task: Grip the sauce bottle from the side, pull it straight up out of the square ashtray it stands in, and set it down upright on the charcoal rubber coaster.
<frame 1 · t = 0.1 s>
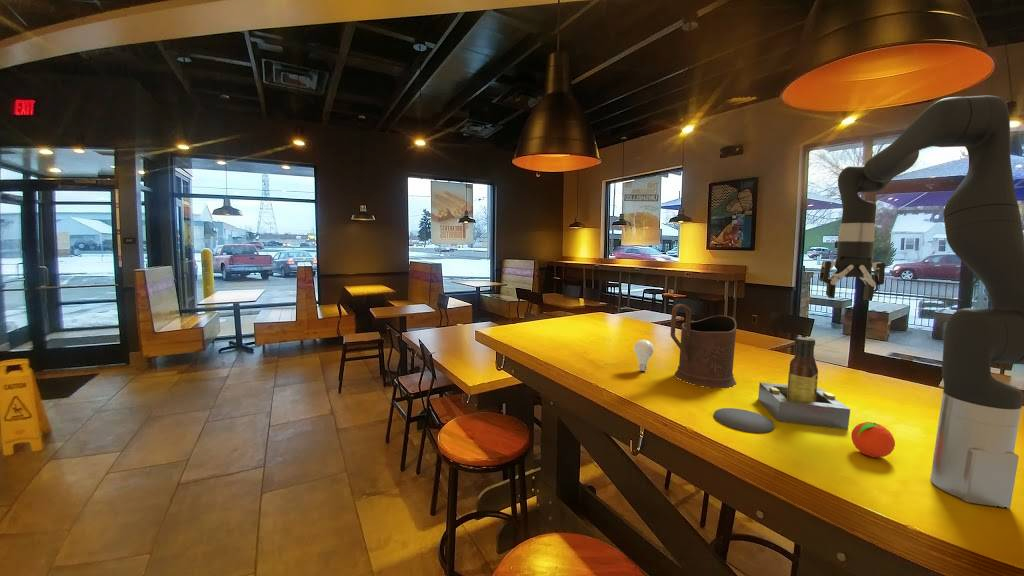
hand: (848, 298, 115), 29 cm above the table, tool pointing down, fingers open, 8 cm apart
square ashtray: (799, 412, 108), on the table
lightbulb: (642, 371, 141), on the table
red tomato: (868, 456, 87), on the table
coaster: (743, 420, 102), on the table
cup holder: (697, 380, 134), on the table
sauce bottle: (799, 413, 108), resting in square ashtray
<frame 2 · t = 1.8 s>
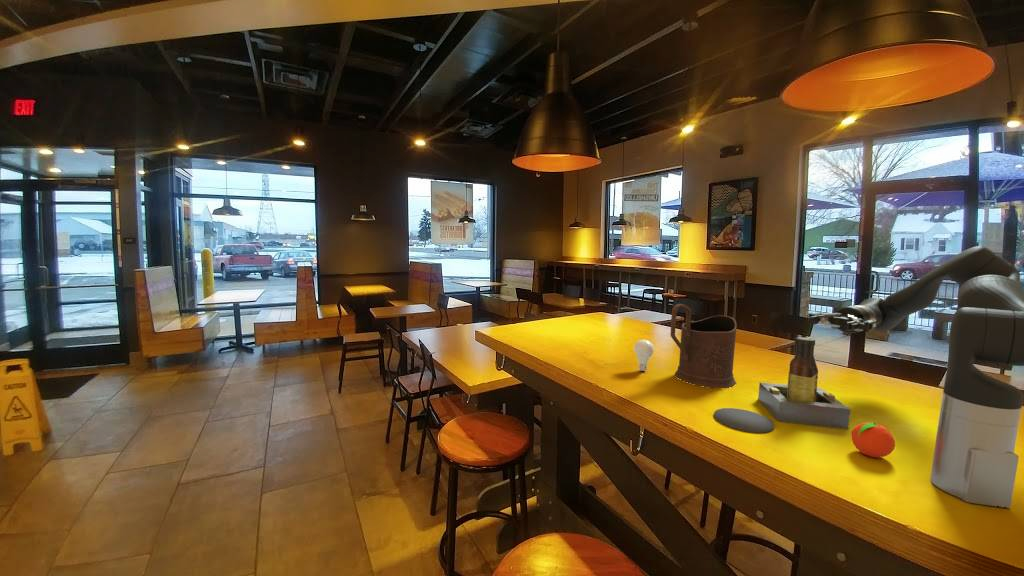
hand: (828, 323, 111), 23 cm above the table, tool horizontal, fingers open, 8 cm apart
nothing on the table moved.
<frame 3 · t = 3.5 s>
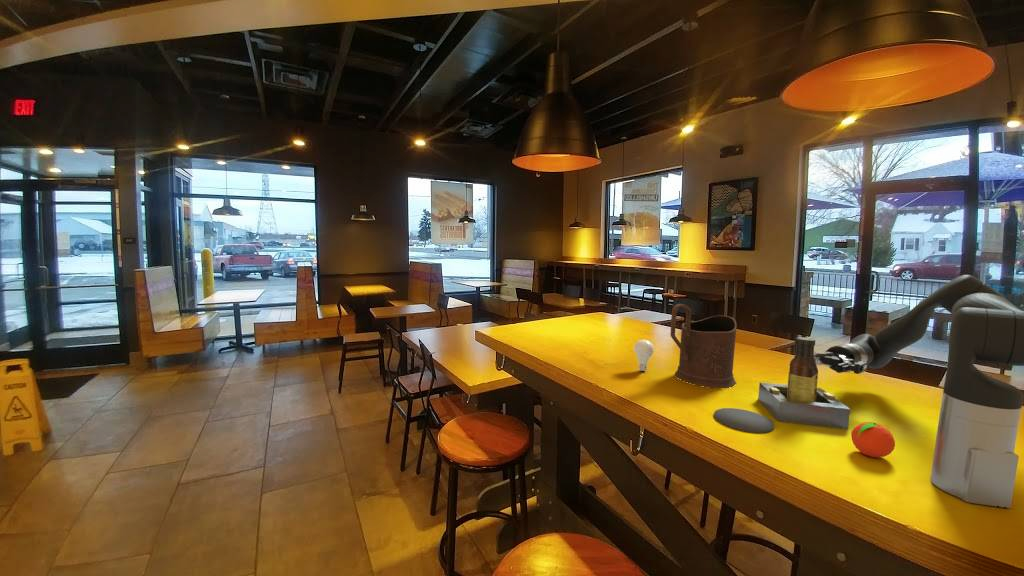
hand: (819, 364, 111), 12 cm above the table, tool horizontal, fingers open, 8 cm apart
nothing on the table moved.
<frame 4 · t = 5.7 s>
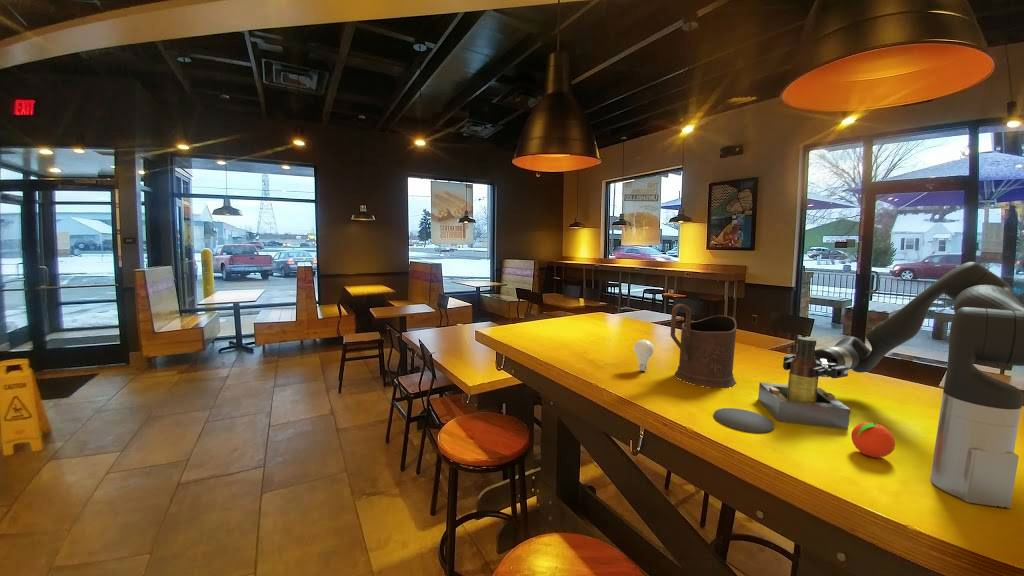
hand: (799, 369, 106), 12 cm above the table, tool horizontal, fingers closed on sauce bottle, 6 cm apart
sauce bottle: (799, 413, 108), resting in square ashtray, touching gripper
everything else where it was.
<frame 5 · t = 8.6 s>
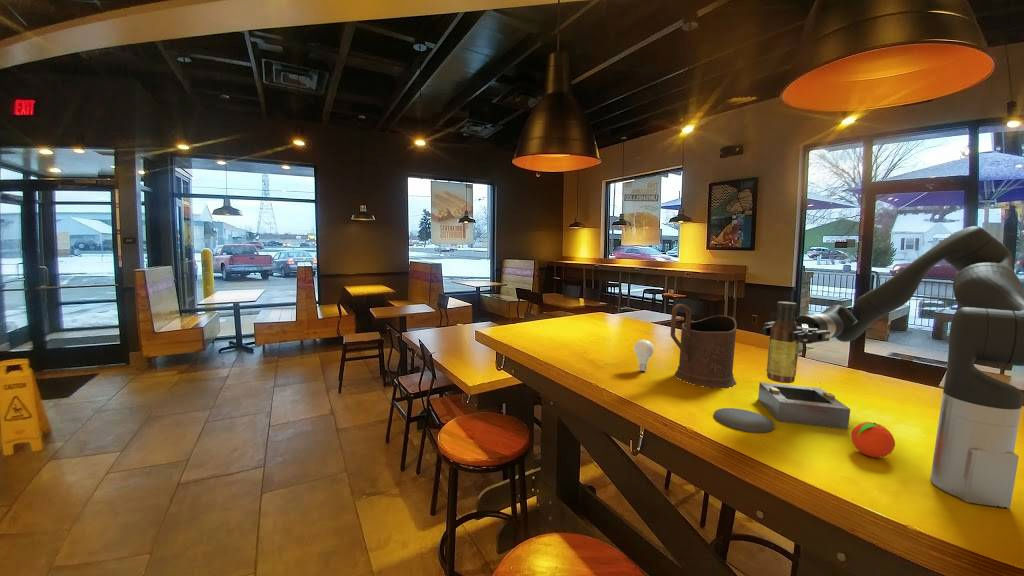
hand: (779, 334, 102), 22 cm above the table, tool horizontal, fingers closed on sauce bottle, 6 cm apart
sauce bottle: (779, 380, 105), point 9 cm above the table, touching gripper
everything else where it was.
when the fingers open (14 cm above the table, at t = 11.7 s): sauce bottle drops 1 cm, resting on coaster.
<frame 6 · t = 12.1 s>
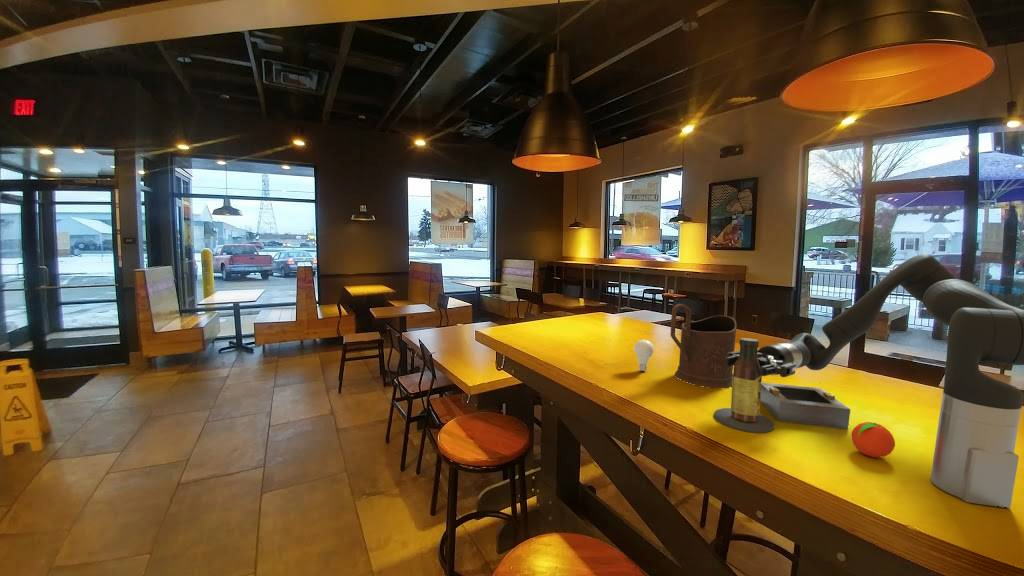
hand: (743, 366, 100), 14 cm above the table, tool horizontal, fingers open, 8 cm apart
sauce bottle: (744, 419, 103), resting on coaster
everything else where it was.
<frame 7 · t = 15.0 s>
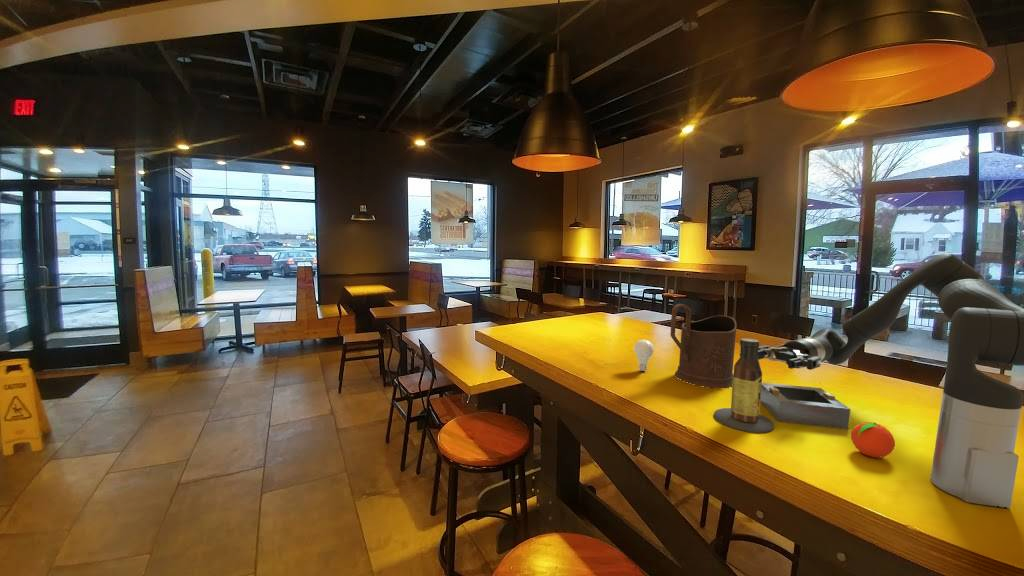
hand: (771, 360, 106), 14 cm above the table, tool horizontal, fingers open, 8 cm apart
nothing on the table moved.
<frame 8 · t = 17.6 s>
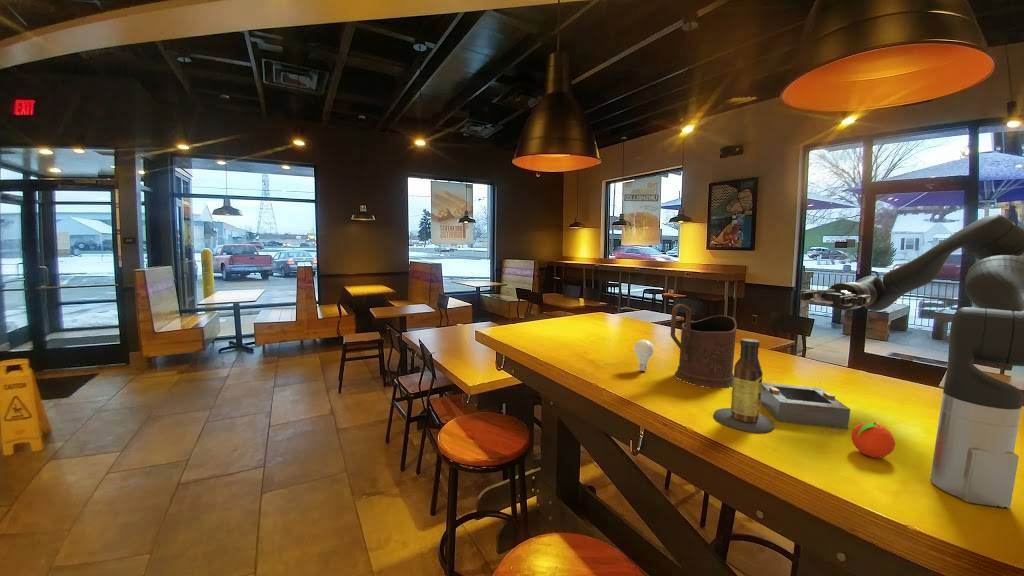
hand: (820, 298, 107), 30 cm above the table, tool horizontal, fingers open, 8 cm apart
nothing on the table moved.
at the end: sauce bottle inside the target area on the coaster (0.3 cm from its centre), point 0.4 cm above the coaster's base; sauce bottle tilted 0°; the gripper is holding nothing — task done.
